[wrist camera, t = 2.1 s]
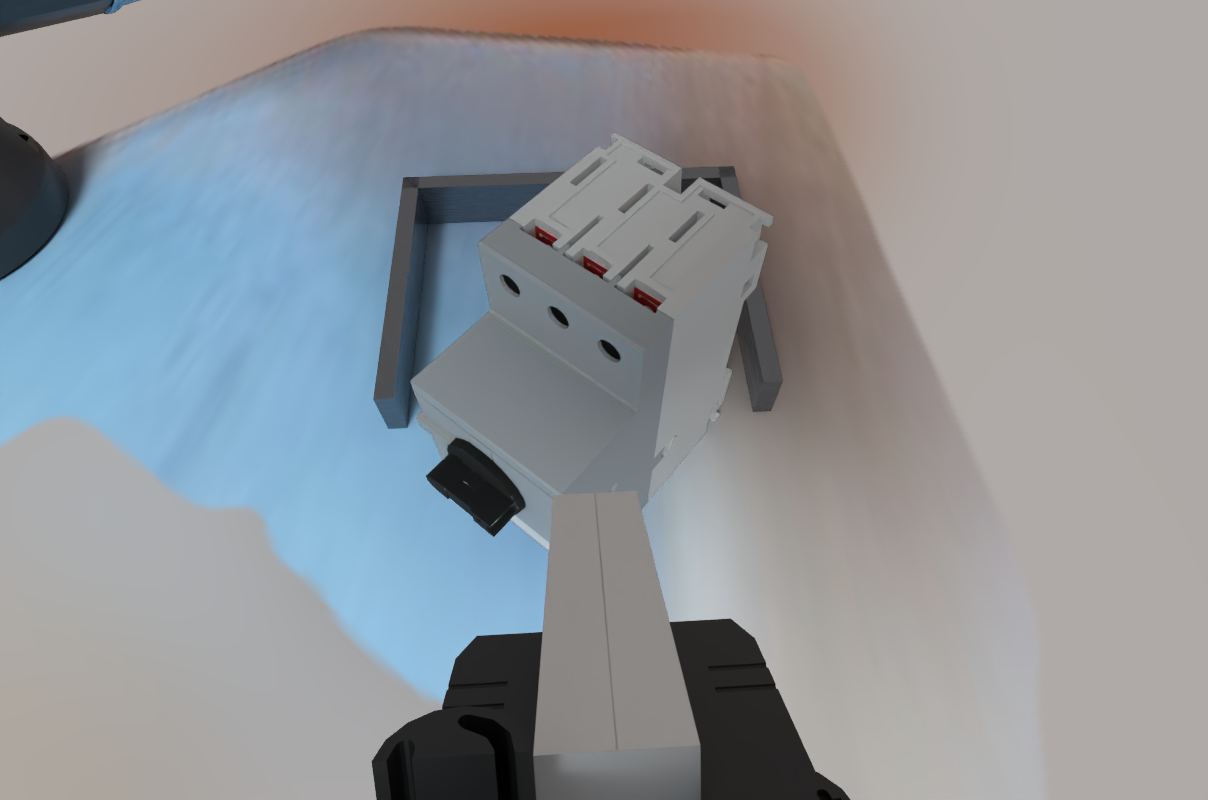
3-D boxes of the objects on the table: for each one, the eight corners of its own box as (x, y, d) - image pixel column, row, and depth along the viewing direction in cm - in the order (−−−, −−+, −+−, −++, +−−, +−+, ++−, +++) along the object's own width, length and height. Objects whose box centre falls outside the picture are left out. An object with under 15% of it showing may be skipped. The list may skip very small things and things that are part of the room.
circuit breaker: (435, 525, 35) (343, 350, 23) (612, 347, 41) (618, 129, 29) (547, 621, 33) (514, 484, 20) (719, 417, 39) (777, 212, 26)
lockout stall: (414, 211, 47) (403, 175, 45) (726, 200, 48) (733, 164, 45) (388, 428, 38) (373, 399, 36) (770, 410, 39) (782, 381, 37)
